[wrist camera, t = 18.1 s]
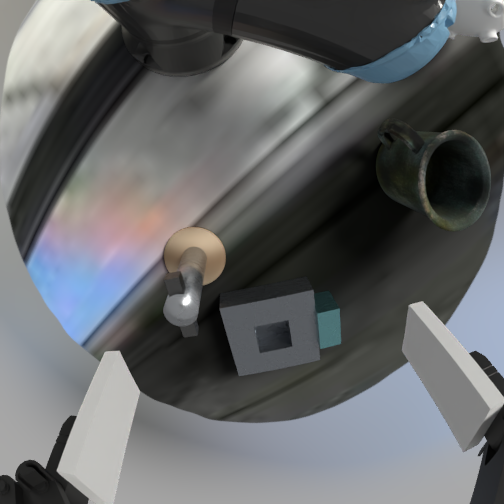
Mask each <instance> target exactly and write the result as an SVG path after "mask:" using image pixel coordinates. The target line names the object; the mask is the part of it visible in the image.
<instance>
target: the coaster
mask: <svg viewBox="0 0 504 504" xmlns="http://www.w3.org/2000/svg"><path fill="white" fill-rule="evenodd" d="M189 247H199V248H201V249H202V250H204V252H205V253H206V256H207V262H206V268H205V274H204V280H203V285H206V284H208V283H211V282H212V281H214V280H215V279H216V278H217V277H218V276H219V275H220V274H221V272H222V271H223V269H224V266H225V260H226V254H225V249H224V246H223V244H222V242H221V241H220V239H219V238H218V237H217V236H216V235H215V234H214V233H212V232H211V231H209V230H207V229H204V228H201V227H187V228H184V229H181V230H179V231H178V232H176V233H175V234H174V235H173V236H172V237H171V238H170V239H169V241H168V243H167V245H166V247H165V251H164V261H165V265H166V267H167V269H168V271H169V272H170V273H172V272H176V271H177V269H178V266H179V263H180V261H181V258H182V255H183V253H184V251H185V250H186V249H188V248H189Z"/></svg>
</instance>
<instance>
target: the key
mask: <svg viewBox="0 0 504 504" xmlns="http://www.w3.org/2000/svg"><path fill="white" fill-rule="evenodd" d="M206 262H207V256H206V253H205V252H204V250H202V249H201V248H199V247H189V248H188V249H186V250H185V251H184V253H183V255H182V258H181V261H180V263H179V266H178V269H177V271H176V272H172V273H167V274H166V276H165V279H164V282H165V285H166V288H167V291H168V296H167V299H166V302H165V305H164V309H163V311H164V315H165V317H166V319H167V320H168V321H169V322H170V323H172V324H174V325H177V326H180V328H181V331H182V334H183V336H184V337H190V336H197V335H198V329H199V327H198V324H197V321H196V319H197V316H198V310H199V304H200V298H201V291H202V286H203V280H204V274H205V268H206Z"/></svg>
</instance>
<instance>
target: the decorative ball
mask: <svg viewBox="0 0 504 504" xmlns="http://www.w3.org/2000/svg"><path fill="white" fill-rule="evenodd" d="M455 1H456V6H457V14H456V19H455V23H454V24H453V25H451V26H449V27H448V30H449V32H450V35H449V37H448V38H450V39H453V40H454V39H455V36H456V35H457V34H459V35H464V36H475V37H479V38H480V40H481V42H484V43H487V42H493V41H496V40H497V39H498V37H497V35H496V33H497V32H499V31H501V30H503V29H504V0H455ZM494 4H496V5H495V6H494V8H493V9H492V11H491V7H492V6H493V5H494Z"/></svg>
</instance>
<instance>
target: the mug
mask: <svg viewBox="0 0 504 504" xmlns="http://www.w3.org/2000/svg"><path fill="white" fill-rule="evenodd" d="M378 137H379V139H380V140H381V142H382V145H381V147H380V149H379V151H378V154H377V158H376V173H377V178H378V181H379V184H380V186H381V188H382V189H383V191H384V192H385V193H386V194H387V195H388V196H389V197H390V198H391V199H392V200H394V201H396V202H398V203H400V204H402V205H404V206H406V207H408V208H410V209H412V210H414V211H417V212H419V213H421V214H423V215H425V216H426V217H428V218H430V220H431V221H432V222H433V223H434V224H435V225H436V226H438V227H440V228H441V229H444V230H446V231H460V230H464V229H466V228H468V227H470V226H471V225H472V224H473V223H475V222H476V220H477V219H478V218H479V217H480V215H481V214H482V212H483V211H484V209H485V207H486V204H487V202H488V198H489V194H490V188H491V172H490V166H489V162H488V159H487V156H486V154H485V152H484V150H483V148H482V147H481V145H480V144H479V143H478V142H477V140H475V139H474V138H473V137H472V136H470V135H469V134H467V133H465V132H462V131H458V130H449V131H446V132H443V133H436V132H421V131H415V130H414V129H412V128H411V127H410V126H409V125H408V124H407V123H405V122H403V121H401V120H399V119H388V120H386V121H385V122H384V123H383V124H382V125H381V127H380V128H379V130H378Z"/></svg>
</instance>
